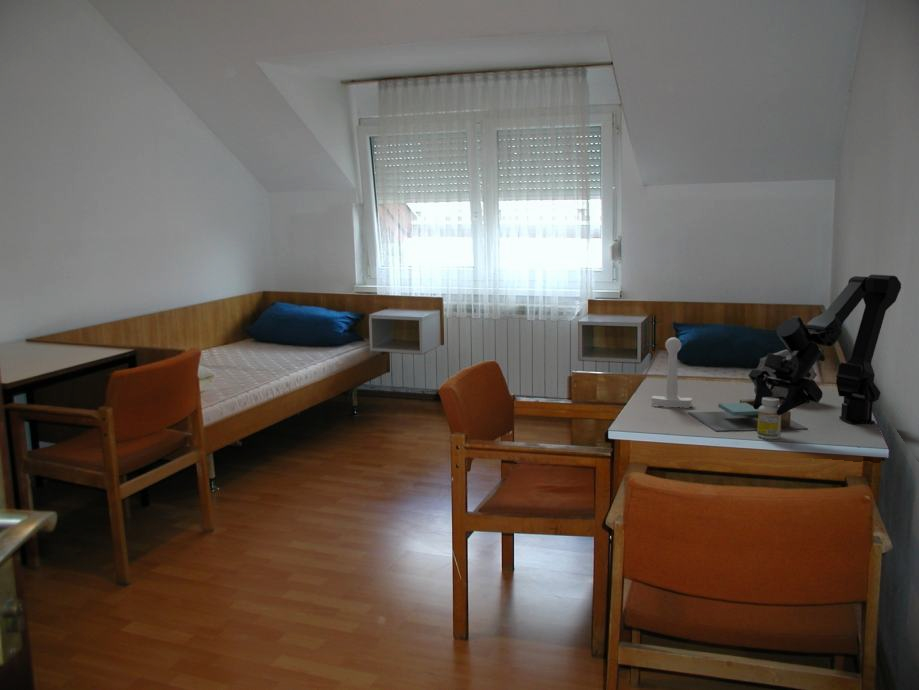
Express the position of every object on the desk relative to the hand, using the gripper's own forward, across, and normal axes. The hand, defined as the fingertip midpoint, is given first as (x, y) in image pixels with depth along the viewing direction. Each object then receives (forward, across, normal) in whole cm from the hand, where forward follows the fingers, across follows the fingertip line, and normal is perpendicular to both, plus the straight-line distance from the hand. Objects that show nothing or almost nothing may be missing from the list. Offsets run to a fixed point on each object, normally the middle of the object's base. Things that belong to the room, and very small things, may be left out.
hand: (765, 411), depth 196 cm
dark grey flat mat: (-1, -14, +11) cm, 18 cm away
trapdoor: (-3, -14, +11) cm, 18 cm away
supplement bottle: (+4, 0, +6) cm, 7 cm away
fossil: (-23, -29, +33) cm, 50 cm away
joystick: (+2, -39, +8) cm, 40 cm away
